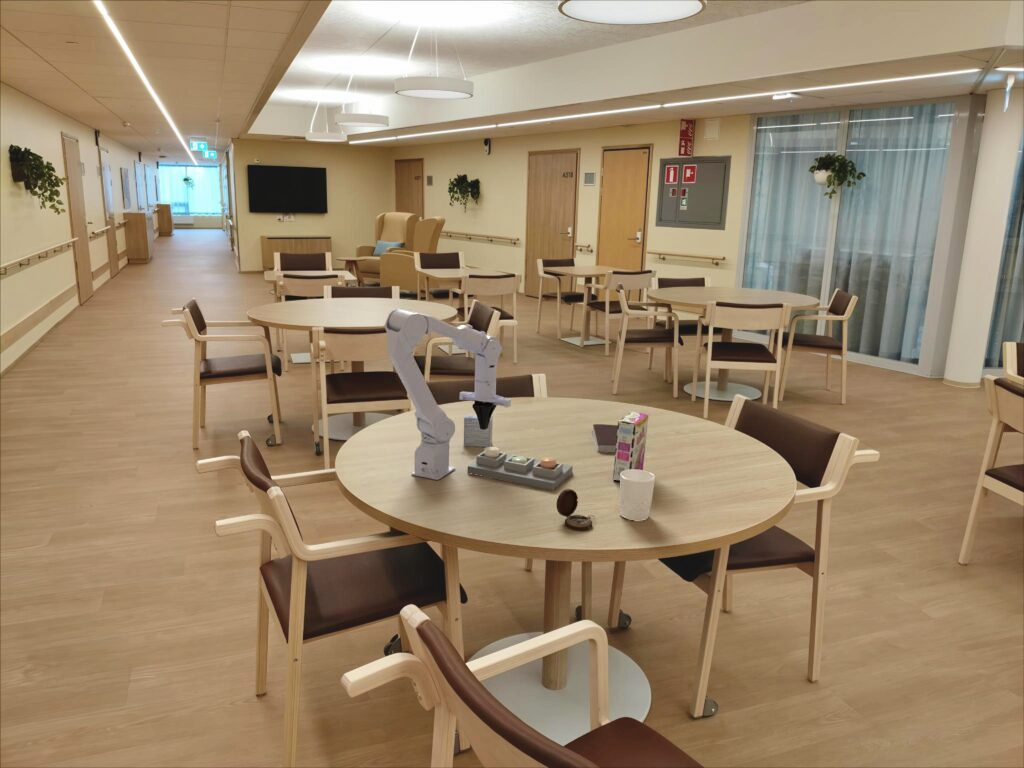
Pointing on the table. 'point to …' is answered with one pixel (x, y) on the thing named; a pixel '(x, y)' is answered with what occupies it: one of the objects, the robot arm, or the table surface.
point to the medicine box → (476, 432)
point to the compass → (572, 511)
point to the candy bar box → (630, 443)
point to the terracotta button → (548, 463)
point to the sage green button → (519, 460)
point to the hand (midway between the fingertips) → (483, 428)
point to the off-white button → (491, 452)
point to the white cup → (636, 493)
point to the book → (605, 437)
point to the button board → (520, 471)
